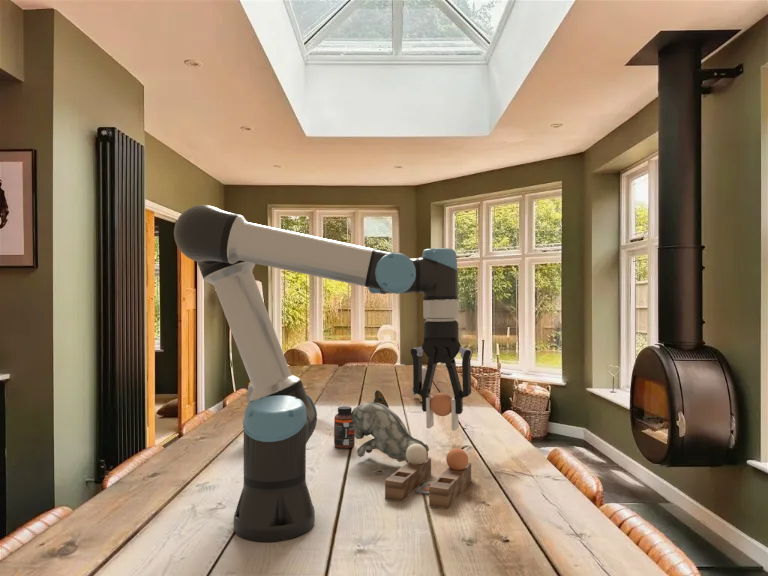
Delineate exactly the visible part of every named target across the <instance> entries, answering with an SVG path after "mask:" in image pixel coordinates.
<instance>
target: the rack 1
mask: <svg viewBox="0 0 768 576" xmlns="http://www.w3.org/2000/svg"><path fill="white" fill-rule="evenodd" d="M430 476H432V458H431V457H428V458H426V460H425V462H424V463H423V464H421V465H412V464H410V463H409V462H408V463H407V462H406V463H405V464H403V466H401V467H400V468H398V469H397V470H396V471H395V472H393V473H392V474H390V476H388V477H387V478H386V479H384V499H385V500H390V501H397V502H400V503H402V502H403V501H405V500H406V499H408V498H409V496H411V494H412V493H413V492H414V491H416V490H417V489H418V488H419V487H420V486H422V485H423V484H424V483H425V482H426V481H427V479H428V478H430Z"/></svg>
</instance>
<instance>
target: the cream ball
mask: <svg viewBox="0 0 768 576" xmlns="http://www.w3.org/2000/svg"><path fill="white" fill-rule="evenodd" d="M406 458H407V460H408V462H409V463H410V464H412V465H421V464H423V463H424V462H425V460H426V458H427V452H426V449H425V448H424V447H423V446H422V445H421V444H412V445H410V446H409V447H408V448H407V451H406Z"/></svg>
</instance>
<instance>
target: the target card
mask: <svg viewBox="0 0 768 576" xmlns="http://www.w3.org/2000/svg"><path fill="white" fill-rule="evenodd" d="M433 482H434V481H427V480H425V481H424V482H423V483H422V484H421V485H420V486H419V487H417V488H416V489H415V494H421V495H427V496H429V486H430V485H431V484H432V483H433Z"/></svg>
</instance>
